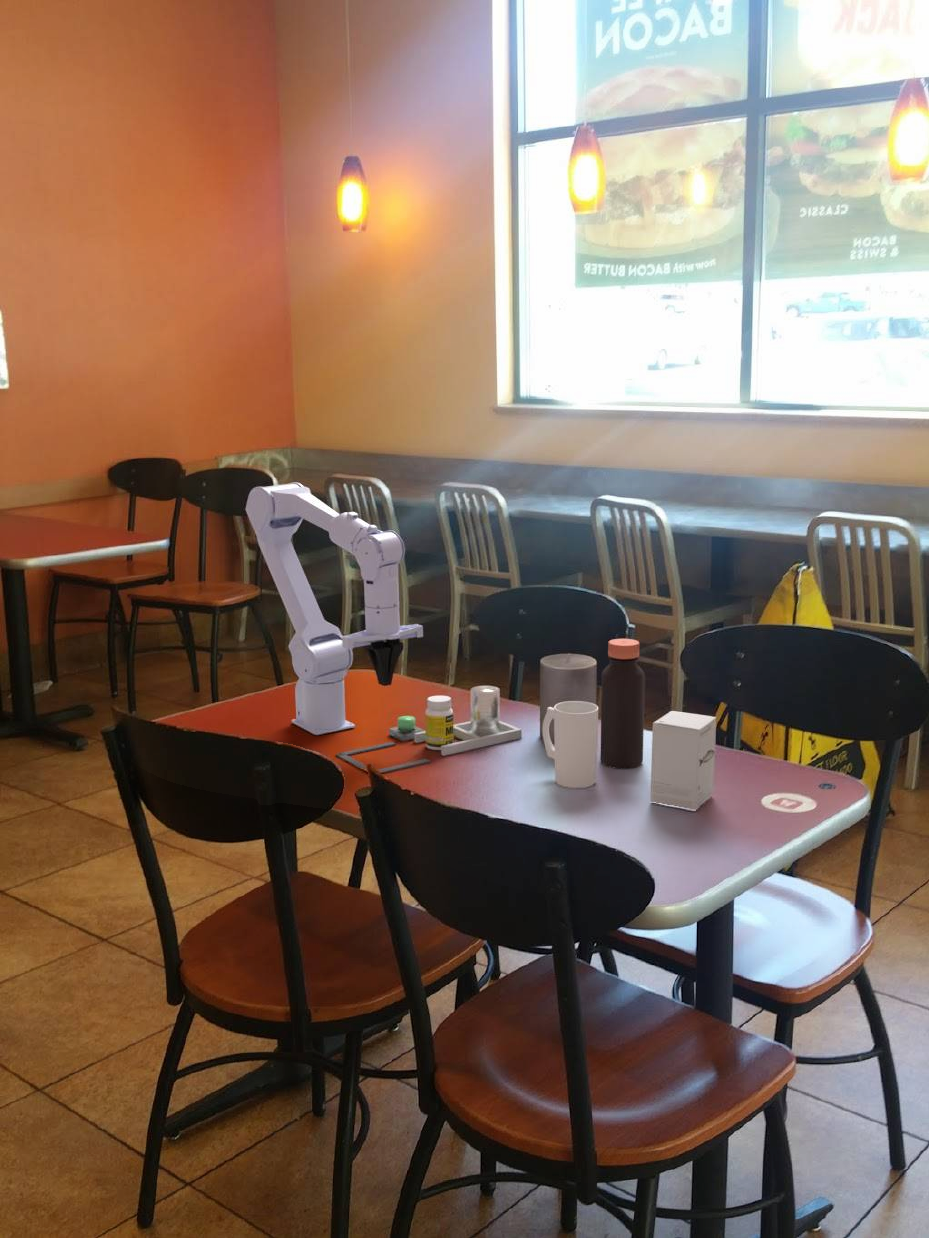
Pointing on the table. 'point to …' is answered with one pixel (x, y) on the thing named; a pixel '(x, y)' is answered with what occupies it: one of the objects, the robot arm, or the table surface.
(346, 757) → the tote
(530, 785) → the table surface
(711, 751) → the supplement box
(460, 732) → the workpiece holding fixture
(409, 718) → the button
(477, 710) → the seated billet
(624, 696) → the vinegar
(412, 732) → the grey button base
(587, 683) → the pillar candle
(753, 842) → the table surface
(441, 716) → the supplement bottle
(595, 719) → the mug
